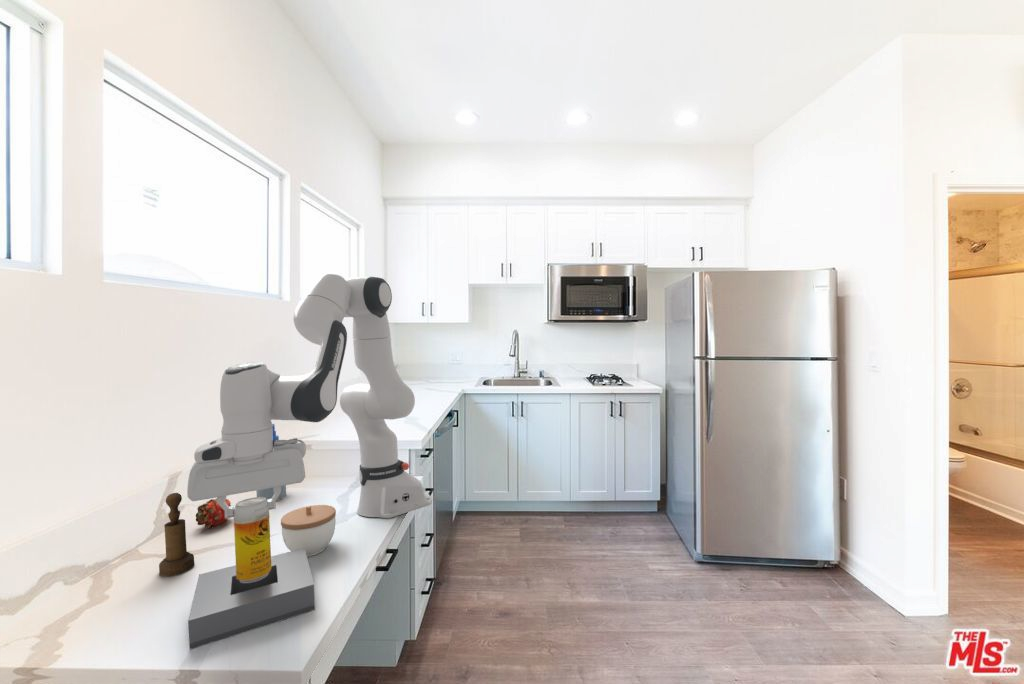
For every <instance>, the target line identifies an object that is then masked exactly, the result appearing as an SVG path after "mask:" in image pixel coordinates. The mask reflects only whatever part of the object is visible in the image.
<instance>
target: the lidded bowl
mask: <svg viewBox="0 0 1024 684" xmlns="http://www.w3.org/2000/svg"><path fill="white" fill-rule="evenodd" d="M336 513H337V510H336V508H335V507H334V506H333V505H327V504H315V505H307V506H304V507H299V508H297V509H293V510H291V511H289V512H287V513H285V514H283V516H282V517H281V519H280V526H281V536H282V541H283V543H284V545H285V547H286V548H287V549H288V550H289V552H291V551H295V550H299V549H303V548H305V551H306V555H307V558H308V557H311V556H315V555H318V554H320V553H322V552H324V551H325V549H327V548H326V547H327V545H329V543H330V542H331V541H332V539H333V537H334V535H335V529H336V516H337V514H336Z"/></svg>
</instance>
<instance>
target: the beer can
mask: <svg viewBox="0 0 1024 684" xmlns="http://www.w3.org/2000/svg"><path fill="white" fill-rule="evenodd" d="M233 526H234V529H233V530H234V550H235V551H234V552H235V553H234V554H235V565H236V578H237V579H238V580H240V582H241V583H252V582H256V581H259V580H261V579H263V578H265V577H266V576H267V575H268V574H269V572H270V570H271V556H272V553H271V552H272V551H271V549H272V548H271V547H272V546H271V529H270V527H271V526H270V510H269V509H268V503H267V500H266V498H265V497H257V496H256V497H251V498H245V499H243V500H239V501H238V502H236V503H235V506H234V517H233Z"/></svg>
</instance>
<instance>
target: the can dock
mask: <svg viewBox="0 0 1024 684" xmlns="http://www.w3.org/2000/svg"><path fill="white" fill-rule="evenodd" d="M192 598H193V599H192V603H191V607H190V612H189V615H188V619H187V624H188V626H187V627H188V628H187V631H188V645H189V646H188V647H189V650H192V649H195V648H199V647H201V646H205V645H208V644H212V643H214V642H217V641H221V640H223V639H227V638H230V637H233V636H235V635H236V636H237V635H239V634H240V635H241V634H242V633H243V634H244V633H247V632H249V631H253V630H255V629H258V628H261V627H265V626H268V625H271V624H274V623H277V622H280V621H284V620H287V619H290V618H293V617H296V616H299V615H302V614H303V615H304V614H306V613H308V612H312V611H315V610H316V601H315V600H316V599H315V583H314V579H313V575H312V571H311V568H310V563H309V559H308V557H307V555H306V551H305V548H303V549H299V550H295V551H288V552H284V553H283V552H282V553H280V554H276V555H271V570H270V572H269V574H268V575H267V576H266V577H265V578H263V579H261V580H259V581H256V582H252V583H241V582H240V580H238V579H237V578H236V564H235V565H231V566H227V567H224V568H220V569H215V570H212V571H211V570H210V571H207V572H203V573H200V574H198V578H197V582H196V585H195V589H194V595H193V597H192Z"/></svg>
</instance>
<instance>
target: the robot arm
mask: <svg viewBox="0 0 1024 684" xmlns="http://www.w3.org/2000/svg"><path fill="white" fill-rule="evenodd" d="M392 299H393V294H392V290H391V287H390V285H389V284H388V282H387V281H386V280H385V279H384V278H382V277H379V276H378V277H376V276H368V277H357V276H356V277H349V278H344V277H343V276H341V275H339V274H336V273H331V272H327V273H323V274H321V275H319V276H318V277H316V279H314V281H313V282H312V283H311V285H309V287H308V288H307V290H306V291H305V293H304V294H303V296H302V298H301V299H300V301H299V303H298V305H297V306H296V308H295V311H294V312H293V313H294V314H293V317H292V318H293V324H294V328H295V329H296V330H297V332H298V334H299V335H301V336H302V337H303V338H304V339H306V340H307V341H309V342H310V343H312V344H315V345H319V346H320V347H319V348H320V349H319V351H318V356H317V360H316V363H315V366H314V369H313V370H312V371H311V372H309V373H306V374H304V375H281V374H278V373H276V372H273V371H272V370H270V369H269V368H268V366H267V364H266V363H264V362H258V361H257V362H255V361H254V362H253V361H251V362H245V363H239V364H238V363H237V364H235V365H231V366H229V367H228V368H226V369H225V370H224V372H222V373H223V374H222V377H221V382H220V387H219V388H220V391H219V400H220V401H219V403H220V404H219V405H220V409H219V410H220V413H221V416H222V419H223V421H222V423H223V424H222V428H221V430H220V431H221V437H220V438H217V439H215V440H212V441H209V442H207V443H204V444H202V445H200V446H199V447H197V448H196V450H195V451H194V454H193V455H194V461H195V462H194V463H193V465H192V467H191V468H190V471H189V473H188V481H187V489H186V491H187V496H186V497H187V498H188V500H189V501H192V502H198V501H204V500H208V499H209V500H211V499H216V498H217V503H218V504H219V505H220V506H221V507H222V509H223V510H225V518H234V508H235V506H234V505H231V506H228V505H227V503H226V502H225V501H226V499H227V497H228V496H232V495H237V494H239V495H240V494H243V493H244V494H245V493H248V492H254V491H256V490H262V489H267V488H273V491H274V492H275V493H274V495H273V497H272V499H267V503H268V509H269V511H270V510H275V509H277V506H276V505H277V504H276V503H277V502H276V501H278V500H277V498H278V496H279V494H280V493H281V486H284V485H286V486H288V485H295V484H301V483H302V482H303V481H304V479H306V471H305V469H306V468H305V463H304V459H303V458H304V457H305V455H306V443H305V442H304V441H303V440H302V439H298V438H297V437H292V438H289V439H288V438H287V439H279V440H275V441H273V427H272V424H273V422H272V421H273V420H274V421H300V422H309V423H320V422H322V421H324V420H325V419H326V418H328V416H329V415H330V414H331V413H333V411H334V409H335V408H336V405H337V402H338V387H339V386H338V384H339V379H340V375H341V371H342V366H343V362H344V358H345V352H346V348H347V341H348V331H347V328H346V326H345V325H344V323H343V320H344V318H352V339H353V340H352V341H353V342H352V343H353V344H352V345H353V355H354V356H353V357H354V363H355V366H356V368H357V369H358V370H360V371H361V372H362V373H363V374H364V375H365V377H366V379H367V382H359V383H354V384H350V385H347V386H346V387H345V388H344V389H343V390H342V391H341V394H340V397H339V405H340V408H341V410H342V412H343V413H344V414H345V415H347V416H348V417H349V419H350V421H351V423H352V424H353V427H354V429H355V432H356V435H357V437H358V444H359V452H360V453H359V455H360V465H359V472H358V473H359V476H358V477H359V482H360V494H359V502H358V508H357V511H356V512H357V514H358V515H360V516H362V517H367V518H381V519H391V518H395V517H398V516H400V515H403V514H406V513H410V512H413V511H416V510H418V509H421V508H425V507H428V506H429V507H430V506H431V505H432V503H433V499H432V498H433V497H431V495H430V494H429V493H428V492H426V491H425V489H424V486H423V484H422V482H421V481H420V480H419V479H418V478H417V477H415V475H411V473H409V472H407V470H408V469H410V465H409V463H407V462H406V461H405V462H404V461H403V460H400V459H399V454H398V452H399V451H398V437H397V435H396V434H395V432H393V431H392V430H391V429H390V428H389V427H388V425H387V422H386V421H385V420H390V421H391V420H397V419H398V420H399V419H403V418H407V417H408V416H409V415H410V414H411V413H412V411H413V409H414V407H415V401H416V400H415V399H416V397H415V394H414V392H413V390H412V388H410V387H409V385H407V384H406V383H405V382H404V381H403V380H402V378H401V377H400V375H399V373H398V371H397V368H396V367H395V366H396V365H395V361H394V357H393V350H392V337H391V329H390V323H389V319H388V314H387V312H388V310H389V309H390V307H391V305H392V301H393V300H392ZM273 446H274V448H273Z"/></svg>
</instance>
